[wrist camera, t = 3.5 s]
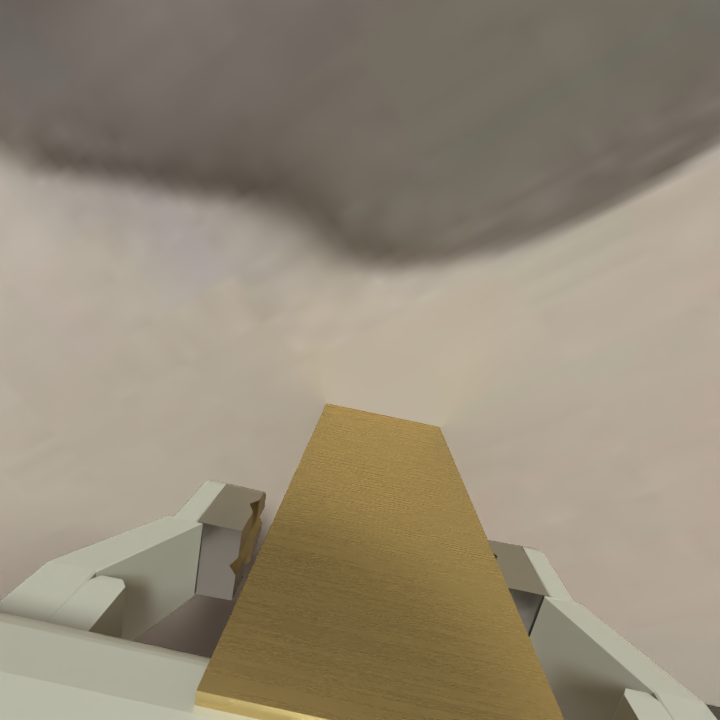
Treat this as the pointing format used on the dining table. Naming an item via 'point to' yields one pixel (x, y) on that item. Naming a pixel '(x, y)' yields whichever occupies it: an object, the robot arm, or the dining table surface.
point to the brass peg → (376, 593)
